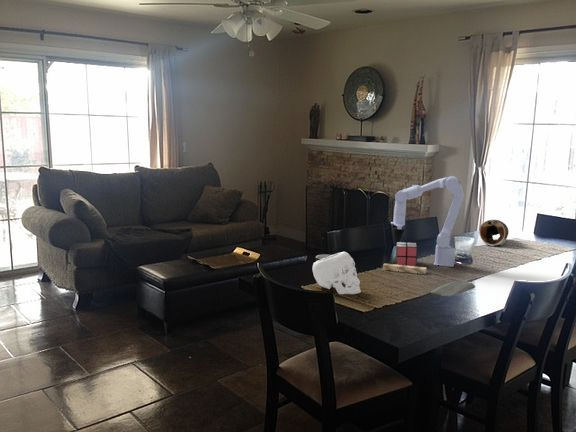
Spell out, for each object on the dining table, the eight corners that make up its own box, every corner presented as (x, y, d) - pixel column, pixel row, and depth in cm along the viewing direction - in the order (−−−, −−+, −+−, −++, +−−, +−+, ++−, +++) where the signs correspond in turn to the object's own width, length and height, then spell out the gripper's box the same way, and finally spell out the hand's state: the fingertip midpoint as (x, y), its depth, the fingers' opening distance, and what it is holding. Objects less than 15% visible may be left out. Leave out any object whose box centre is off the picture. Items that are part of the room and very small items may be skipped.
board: (426, 272, 244) (426, 267, 244) (425, 274, 241) (425, 269, 241) (384, 268, 252) (384, 263, 251) (382, 269, 249) (383, 264, 249)
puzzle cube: (416, 267, 255) (417, 247, 253) (395, 266, 257) (396, 246, 255) (415, 262, 264) (416, 242, 263) (395, 261, 266) (396, 242, 265)
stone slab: (475, 290, 223) (454, 282, 230) (476, 284, 222) (455, 276, 229) (449, 302, 208) (427, 293, 215) (450, 296, 207) (428, 287, 214)
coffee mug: (321, 281, 230) (322, 260, 228) (312, 277, 237) (312, 255, 236) (343, 278, 235) (344, 257, 233) (333, 273, 243) (333, 253, 241)
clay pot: (513, 220, 315) (505, 218, 295) (514, 245, 314) (506, 245, 293) (488, 221, 323) (478, 219, 303) (489, 246, 322) (479, 245, 302)
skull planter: (355, 295, 205) (337, 250, 208) (318, 308, 217) (302, 265, 220) (372, 287, 215) (355, 244, 218) (337, 300, 228) (321, 259, 231)
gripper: (391, 211, 270) (388, 236, 272) (392, 216, 256) (390, 242, 258) (404, 212, 269) (402, 237, 271) (406, 217, 255) (404, 244, 257)
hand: (397, 240), depth 265 cm, fingers open, 7 cm apart
